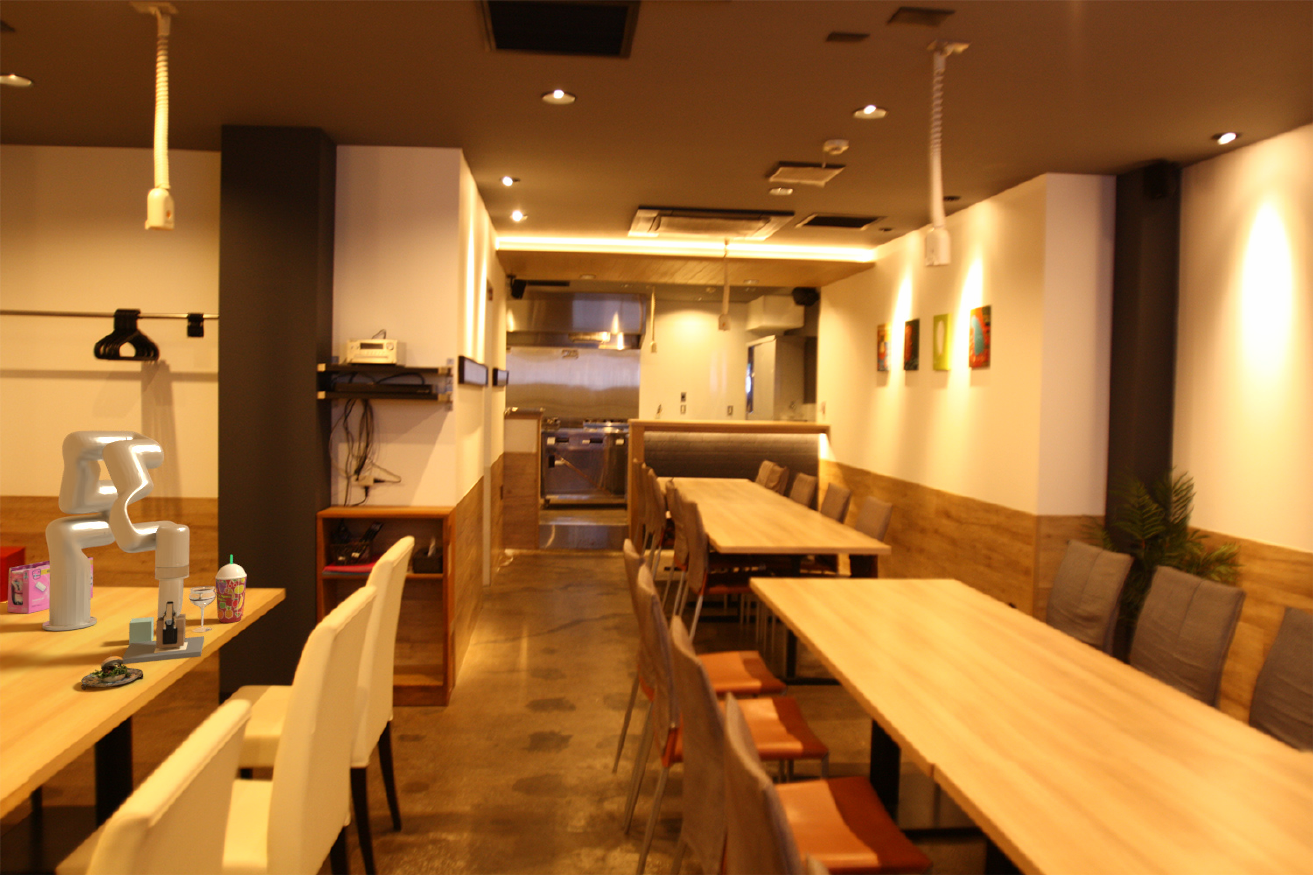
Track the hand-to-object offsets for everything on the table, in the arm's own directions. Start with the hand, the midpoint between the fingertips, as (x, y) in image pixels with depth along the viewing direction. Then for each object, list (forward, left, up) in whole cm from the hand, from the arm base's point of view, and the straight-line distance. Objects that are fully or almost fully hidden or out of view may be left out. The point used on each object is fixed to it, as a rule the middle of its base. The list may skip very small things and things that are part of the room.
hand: (171, 639), depth 203 cm
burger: (+21, -10, -4) cm, 23 cm away
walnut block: (0, 0, -1) cm, 1 cm away
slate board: (-1, -1, -3) cm, 4 cm away
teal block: (-13, -8, -3) cm, 16 cm away
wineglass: (-20, +6, -3) cm, 22 cm away
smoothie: (-28, +13, -3) cm, 31 cm away
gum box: (-69, -38, -4) cm, 79 cm away
